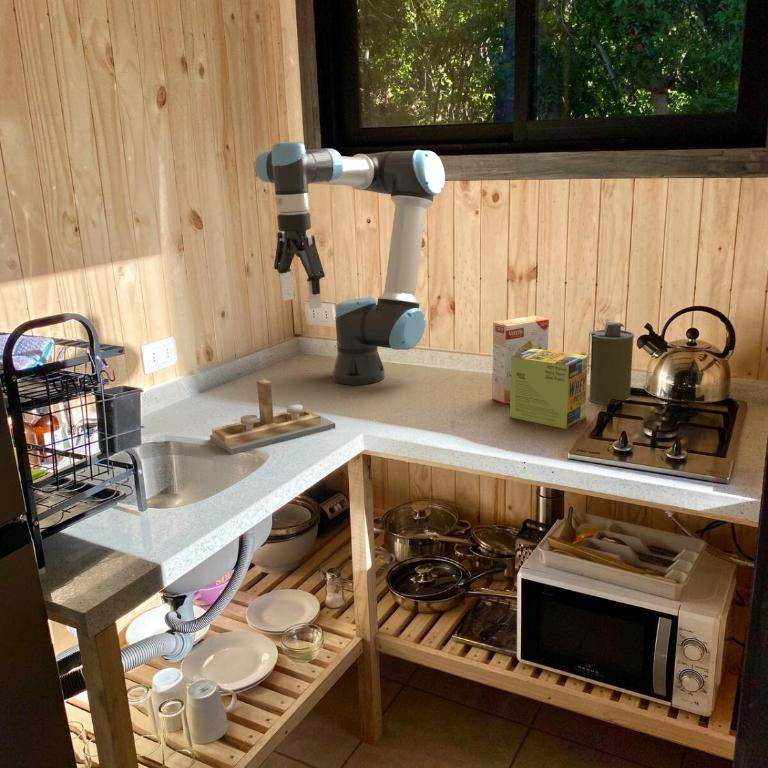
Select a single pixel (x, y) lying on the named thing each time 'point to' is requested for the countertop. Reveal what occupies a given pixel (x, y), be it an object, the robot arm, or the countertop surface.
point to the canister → (610, 364)
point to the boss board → (251, 419)
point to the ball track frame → (265, 421)
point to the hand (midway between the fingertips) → (301, 303)
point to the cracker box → (514, 349)
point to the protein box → (548, 387)
